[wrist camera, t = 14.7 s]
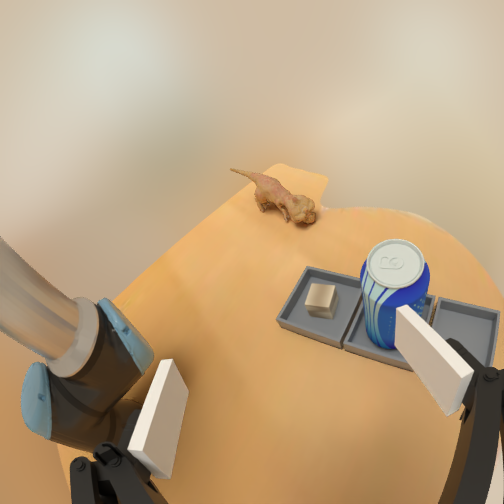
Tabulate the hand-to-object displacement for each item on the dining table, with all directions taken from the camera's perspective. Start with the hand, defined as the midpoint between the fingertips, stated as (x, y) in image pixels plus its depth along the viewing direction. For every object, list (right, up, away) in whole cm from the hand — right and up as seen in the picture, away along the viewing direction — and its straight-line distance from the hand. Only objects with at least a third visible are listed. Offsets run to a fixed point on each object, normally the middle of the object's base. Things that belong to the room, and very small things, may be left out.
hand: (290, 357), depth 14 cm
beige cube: (+10, -3, +30) cm, 31 cm away
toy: (+6, +15, +52) cm, 55 cm away
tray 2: (+28, -8, +15) cm, 33 cm away
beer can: (+19, -6, +22) cm, 30 cm away
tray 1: (+10, -4, +30) cm, 32 cm away
